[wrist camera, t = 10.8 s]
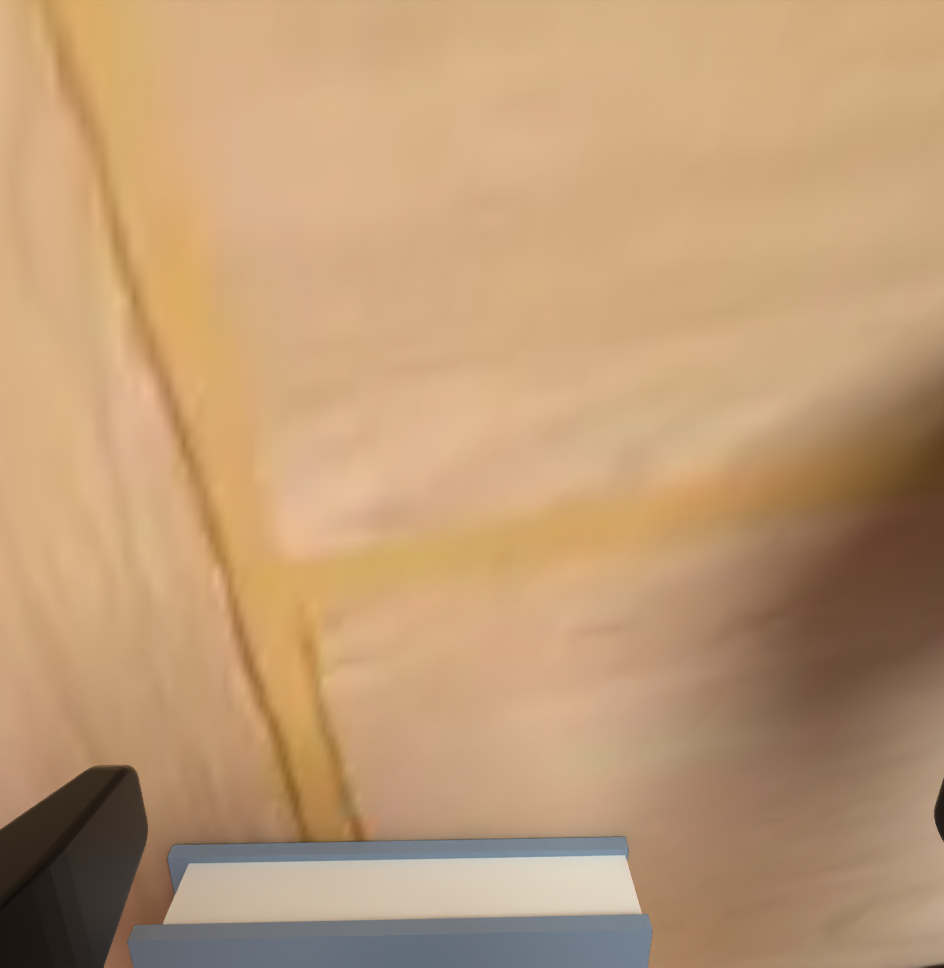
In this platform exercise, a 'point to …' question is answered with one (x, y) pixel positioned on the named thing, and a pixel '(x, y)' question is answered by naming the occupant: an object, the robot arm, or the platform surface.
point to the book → (400, 906)
